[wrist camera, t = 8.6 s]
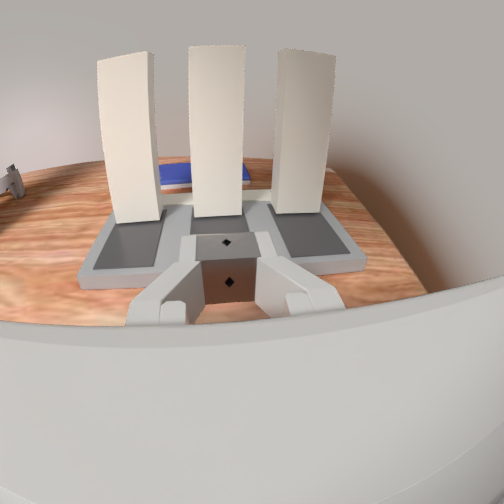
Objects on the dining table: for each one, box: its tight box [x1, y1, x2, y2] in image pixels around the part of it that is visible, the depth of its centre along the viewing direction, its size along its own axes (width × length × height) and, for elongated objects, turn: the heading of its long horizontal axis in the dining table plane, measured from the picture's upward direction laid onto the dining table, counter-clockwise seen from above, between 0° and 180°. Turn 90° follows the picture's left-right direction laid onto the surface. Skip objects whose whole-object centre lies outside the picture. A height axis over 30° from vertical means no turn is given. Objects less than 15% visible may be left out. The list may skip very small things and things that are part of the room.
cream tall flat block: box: [189, 45, 245, 217], centre depth 20 cm, size 2×4×14 cm, turn 98°
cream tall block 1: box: [97, 51, 163, 224], centre depth 19 cm, size 2×4×14 cm, turn 98°
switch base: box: [76, 189, 368, 290], centre depth 23 cm, size 13×21×1 cm, turn 98°
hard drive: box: [159, 161, 250, 190], centre depth 36 cm, size 2×8×12 cm
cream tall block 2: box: [271, 48, 336, 214], centre depth 21 cm, size 2×4×14 cm, turn 98°
